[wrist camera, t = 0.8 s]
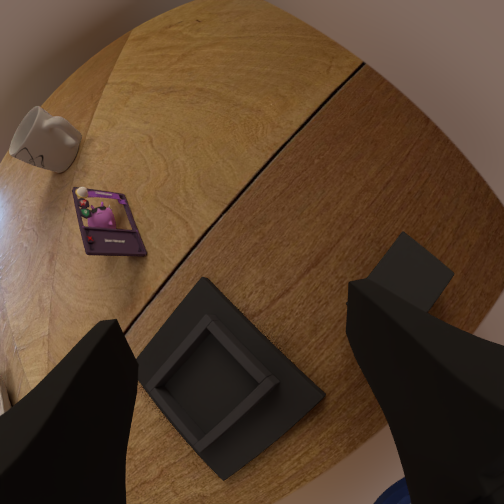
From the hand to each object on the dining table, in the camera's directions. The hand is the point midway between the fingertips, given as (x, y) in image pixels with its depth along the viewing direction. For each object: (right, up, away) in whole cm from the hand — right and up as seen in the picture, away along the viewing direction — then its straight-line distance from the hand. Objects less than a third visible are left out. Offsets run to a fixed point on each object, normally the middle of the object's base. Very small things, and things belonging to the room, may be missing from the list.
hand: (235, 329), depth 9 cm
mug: (-28, +18, +33) cm, 47 cm away
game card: (-14, +4, +23) cm, 28 cm away
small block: (+11, -1, +12) cm, 16 cm away
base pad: (-3, -9, +15) cm, 18 cm away
